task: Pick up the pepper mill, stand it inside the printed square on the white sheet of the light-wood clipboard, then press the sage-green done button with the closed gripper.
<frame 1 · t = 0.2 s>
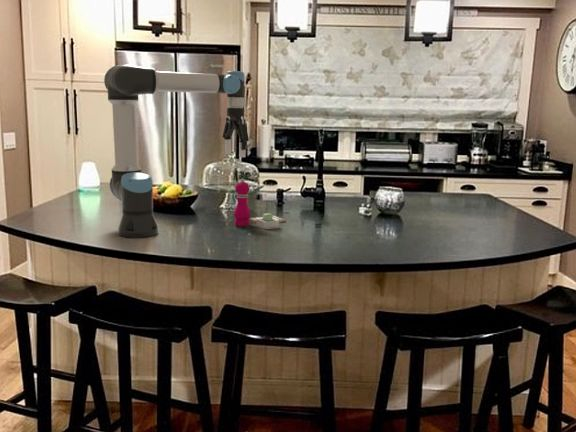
hand: (235, 155, 257), 28 cm above the countertop, fingers open, 13 cm apart
button base: (267, 226, 245), on the countertop
pepper mill: (242, 225, 247), on the countertop
done button: (267, 218, 244), point 4 cm above the countertop, slide at 0.0 cm
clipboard: (267, 220, 256), on the countertop
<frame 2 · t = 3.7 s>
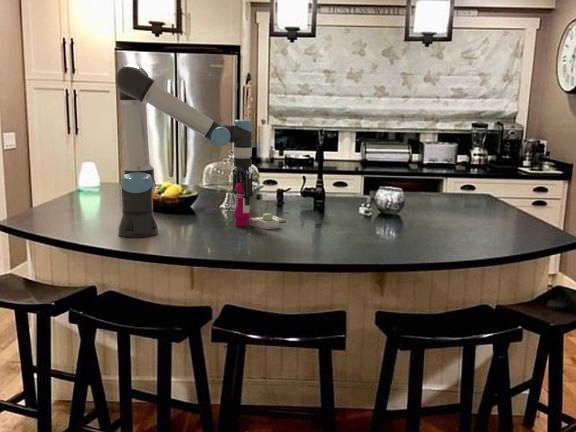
hand: (242, 211, 246), 6 cm above the countertop, fingers closed on pepper mill, 6 cm apart
pepper mill: (242, 225, 247), on the countertop, touching gripper
everything else where it was.
when the fingers open (8 cm above the countertop, at t = 8.9 s): pepper mill drops 1 cm, resting on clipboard.
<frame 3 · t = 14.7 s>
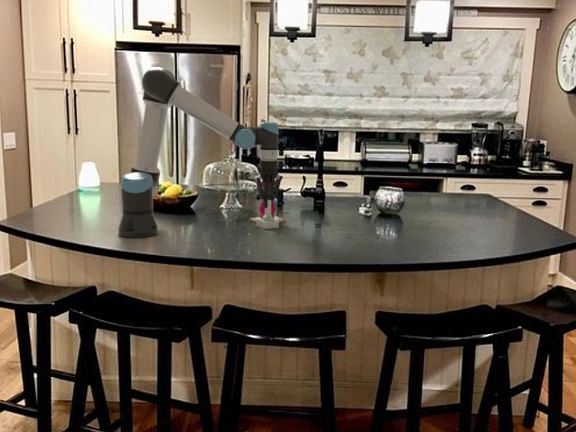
hand: (267, 215, 244), 5 cm above the countertop, fingers closed
pepper mill: (267, 219, 255), point 1 cm above the countertop, touching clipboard
done button: (267, 220, 244), point 3 cm above the countertop, slide at 0.7 cm, touching gripper
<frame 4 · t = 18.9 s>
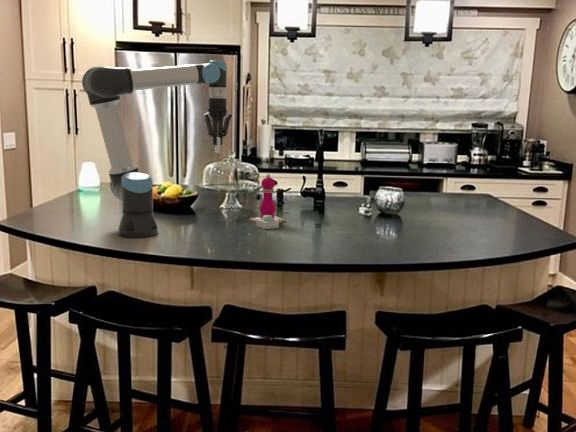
hand: (217, 152, 252), 29 cm above the countertop, fingers closed
done button: (267, 220, 244), point 3 cm above the countertop, slide at 0.8 cm
everything else where it was.
at the end: pepper mill inside the target area on the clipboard (0.1 cm from its centre), point 0.8 cm above the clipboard's base; pepper mill tilted 0°; done button slide at 0.8 cm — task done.
